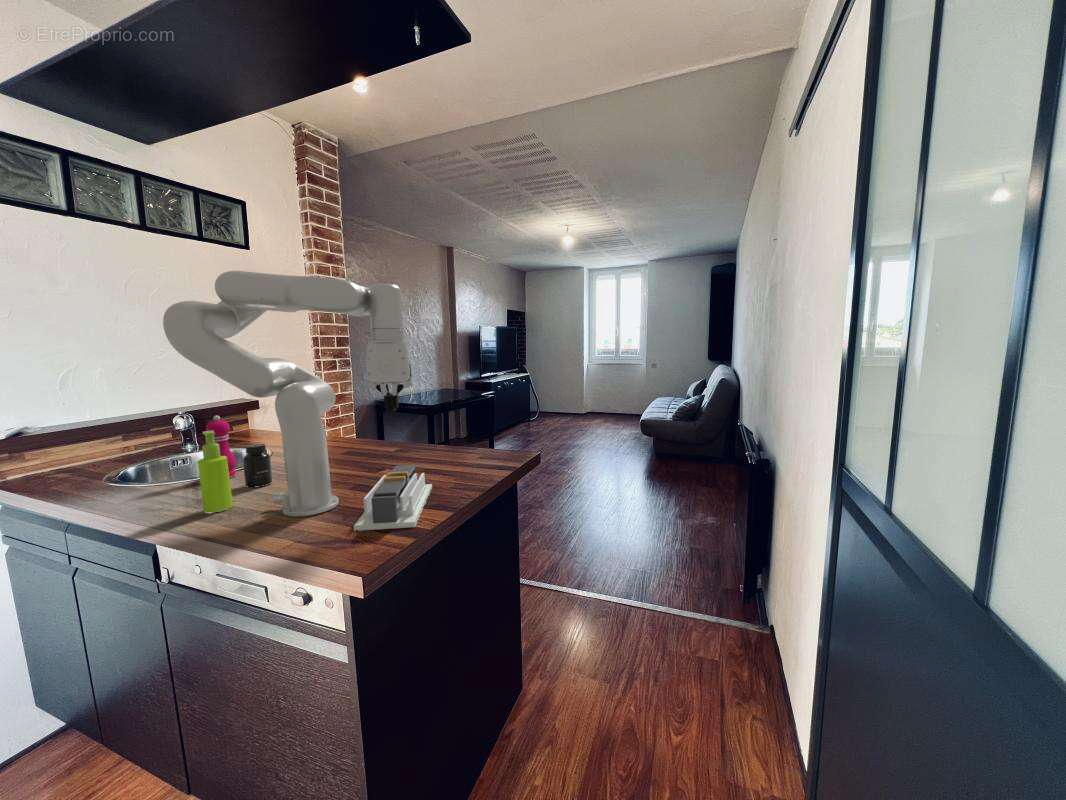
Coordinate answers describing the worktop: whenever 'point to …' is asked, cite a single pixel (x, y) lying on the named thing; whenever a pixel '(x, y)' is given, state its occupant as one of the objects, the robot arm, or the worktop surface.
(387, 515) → the heatsink board
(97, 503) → the worktop surface
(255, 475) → the supplement bottle
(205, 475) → the soap dispenser
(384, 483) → the grey flat block
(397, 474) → the grey green rectangular plate
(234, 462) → the pepper mill
